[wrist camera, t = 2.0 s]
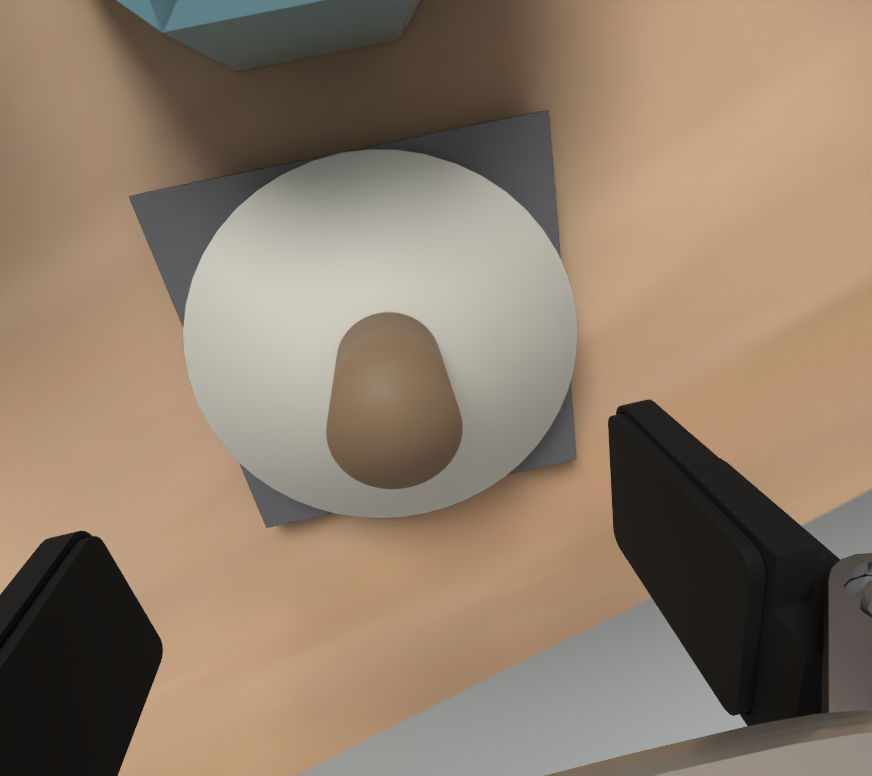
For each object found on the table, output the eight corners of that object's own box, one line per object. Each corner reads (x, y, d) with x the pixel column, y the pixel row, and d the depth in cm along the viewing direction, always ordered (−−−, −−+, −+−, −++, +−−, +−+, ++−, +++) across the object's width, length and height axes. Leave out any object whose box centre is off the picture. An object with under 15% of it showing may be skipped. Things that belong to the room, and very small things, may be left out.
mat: (538, 111, 16) (549, 110, 15) (567, 445, 21) (576, 459, 20) (142, 193, 16) (128, 196, 15) (270, 511, 21) (266, 527, 20)
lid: (548, 110, 15) (638, 97, 10) (576, 459, 20) (644, 565, 15) (129, 196, 15) (6, 226, 10) (266, 527, 20) (232, 658, 15)
